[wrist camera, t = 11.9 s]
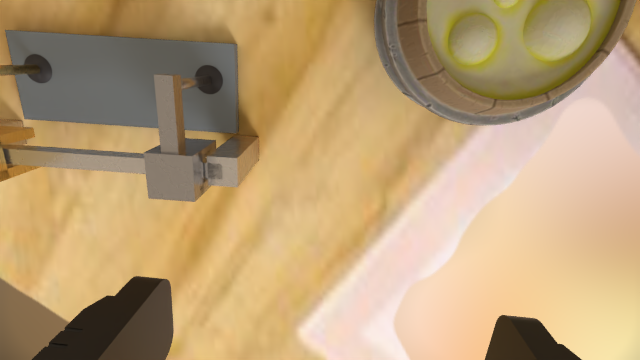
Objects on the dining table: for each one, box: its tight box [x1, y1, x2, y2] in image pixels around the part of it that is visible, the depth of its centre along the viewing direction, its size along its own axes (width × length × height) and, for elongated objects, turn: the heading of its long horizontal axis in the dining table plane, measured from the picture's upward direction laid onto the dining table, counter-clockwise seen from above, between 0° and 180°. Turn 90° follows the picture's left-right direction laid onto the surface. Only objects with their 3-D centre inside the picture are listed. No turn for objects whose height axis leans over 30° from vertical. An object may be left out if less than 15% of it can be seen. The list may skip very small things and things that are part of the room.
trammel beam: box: [0, 74, 259, 202], centre depth 37 cm, size 11×33×12 cm, turn 87°
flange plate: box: [5, 30, 239, 133], centre depth 41 cm, size 10×26×1 cm, turn 87°
